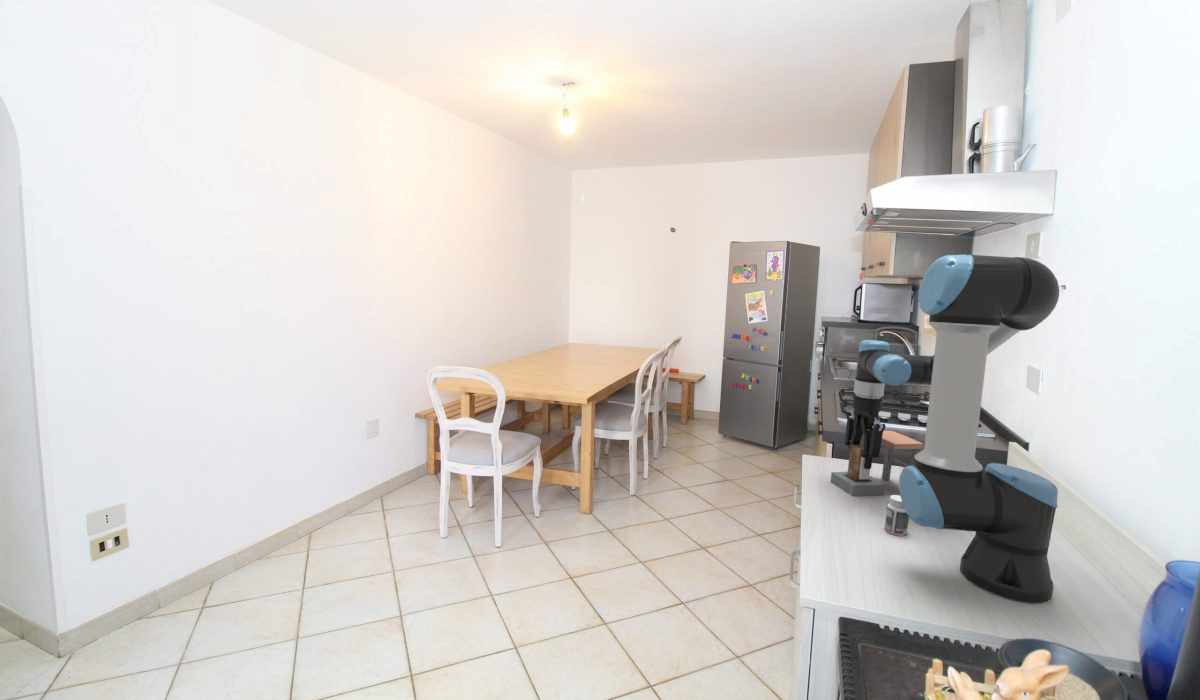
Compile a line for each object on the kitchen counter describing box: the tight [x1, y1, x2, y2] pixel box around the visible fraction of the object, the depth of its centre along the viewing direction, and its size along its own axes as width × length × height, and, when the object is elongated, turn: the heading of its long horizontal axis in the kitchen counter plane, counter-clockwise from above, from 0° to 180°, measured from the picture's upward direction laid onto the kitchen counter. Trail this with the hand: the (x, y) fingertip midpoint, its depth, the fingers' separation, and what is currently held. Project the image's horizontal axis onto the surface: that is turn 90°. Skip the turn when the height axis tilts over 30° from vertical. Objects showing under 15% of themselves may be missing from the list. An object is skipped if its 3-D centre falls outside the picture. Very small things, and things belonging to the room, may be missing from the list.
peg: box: [847, 443, 869, 482], centre depth 155 cm, size 4×4×12 cm
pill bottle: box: [884, 494, 910, 537], centre depth 130 cm, size 5×5×8 cm
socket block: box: [830, 471, 886, 497], centre depth 156 cm, size 10×10×3 cm
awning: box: [881, 430, 924, 482], centre depth 157 cm, size 12×9×15 cm
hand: (858, 475), depth 156 cm, fingers closed on peg, 4 cm apart
